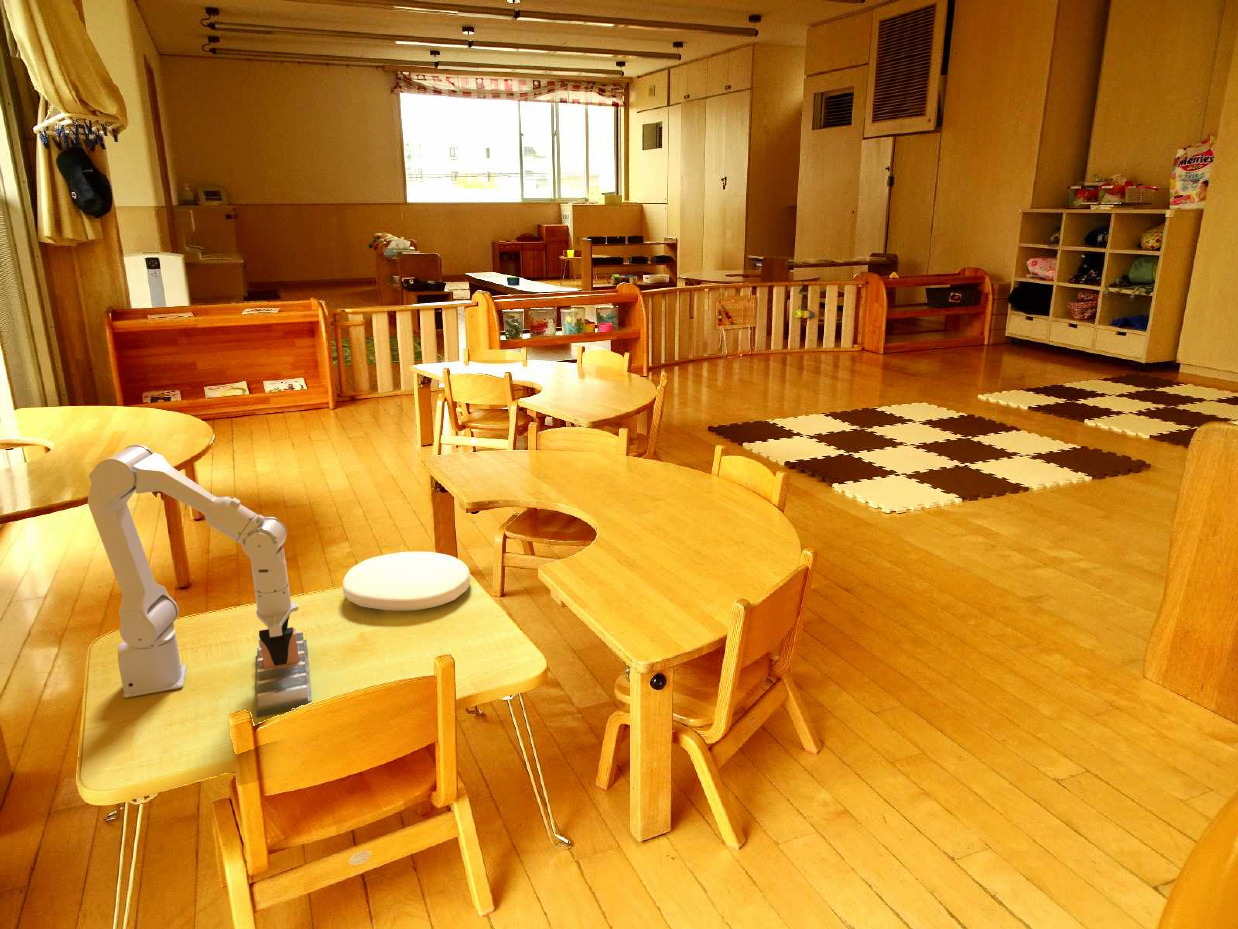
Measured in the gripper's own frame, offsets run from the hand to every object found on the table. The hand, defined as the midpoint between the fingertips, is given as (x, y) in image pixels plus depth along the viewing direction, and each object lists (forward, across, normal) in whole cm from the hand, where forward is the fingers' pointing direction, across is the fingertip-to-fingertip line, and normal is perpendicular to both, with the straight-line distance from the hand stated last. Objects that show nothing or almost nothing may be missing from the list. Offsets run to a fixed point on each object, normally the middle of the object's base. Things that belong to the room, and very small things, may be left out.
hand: (280, 654), depth 155 cm
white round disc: (+6, +29, -27) cm, 40 cm away
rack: (+5, 0, 0) cm, 5 cm away
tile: (+4, 0, 0) cm, 4 cm away
